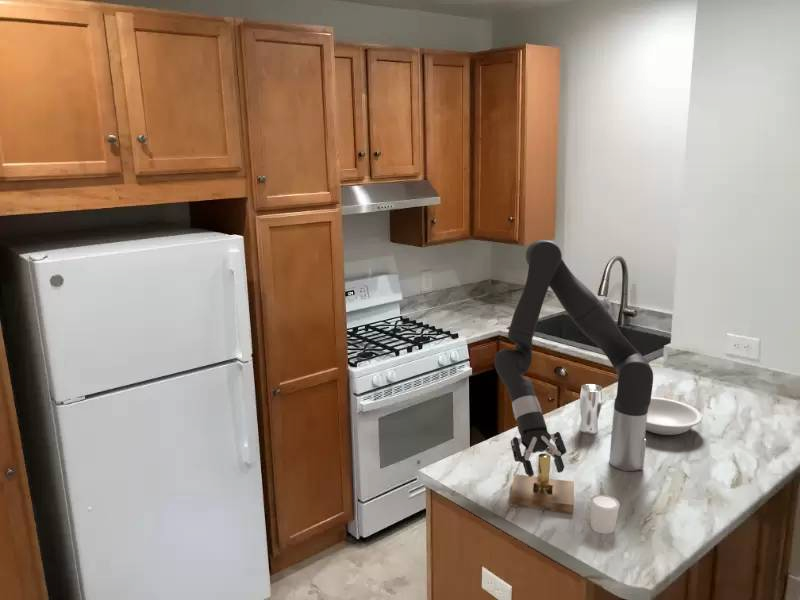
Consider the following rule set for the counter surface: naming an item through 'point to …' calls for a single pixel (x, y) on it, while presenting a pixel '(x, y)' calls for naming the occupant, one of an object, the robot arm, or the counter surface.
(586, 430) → the beer glass
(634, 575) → the counter surface
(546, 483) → the peg
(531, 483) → the block
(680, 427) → the soup bowl
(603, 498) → the shot glass
